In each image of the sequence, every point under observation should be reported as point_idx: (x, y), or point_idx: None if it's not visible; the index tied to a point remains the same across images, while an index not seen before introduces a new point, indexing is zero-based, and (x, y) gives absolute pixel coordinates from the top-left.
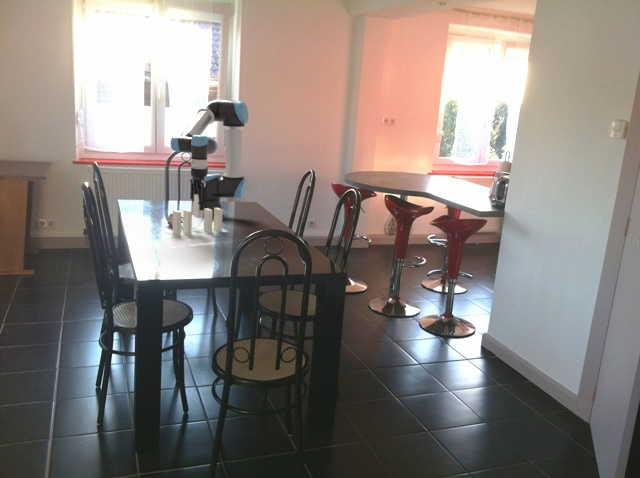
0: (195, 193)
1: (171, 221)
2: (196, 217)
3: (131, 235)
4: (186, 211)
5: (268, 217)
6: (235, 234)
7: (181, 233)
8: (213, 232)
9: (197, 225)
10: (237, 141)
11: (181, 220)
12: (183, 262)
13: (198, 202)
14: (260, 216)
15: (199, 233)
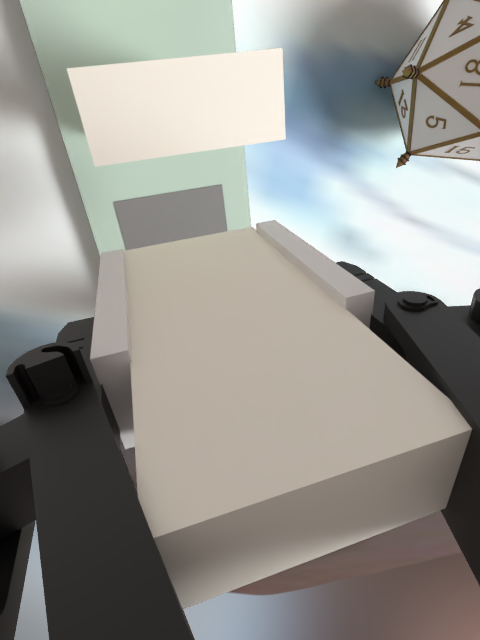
0: (474, 474)
1: (443, 22)
2: (173, 241)
3: None
4: (144, 62)
5: (400, 561)
6: (120, 444)
7: (132, 30)
8: None
9: (410, 283)
10: None
11: (424, 146)
12: None
13: (137, 376)
14: (426, 541)
15: (112, 218)
